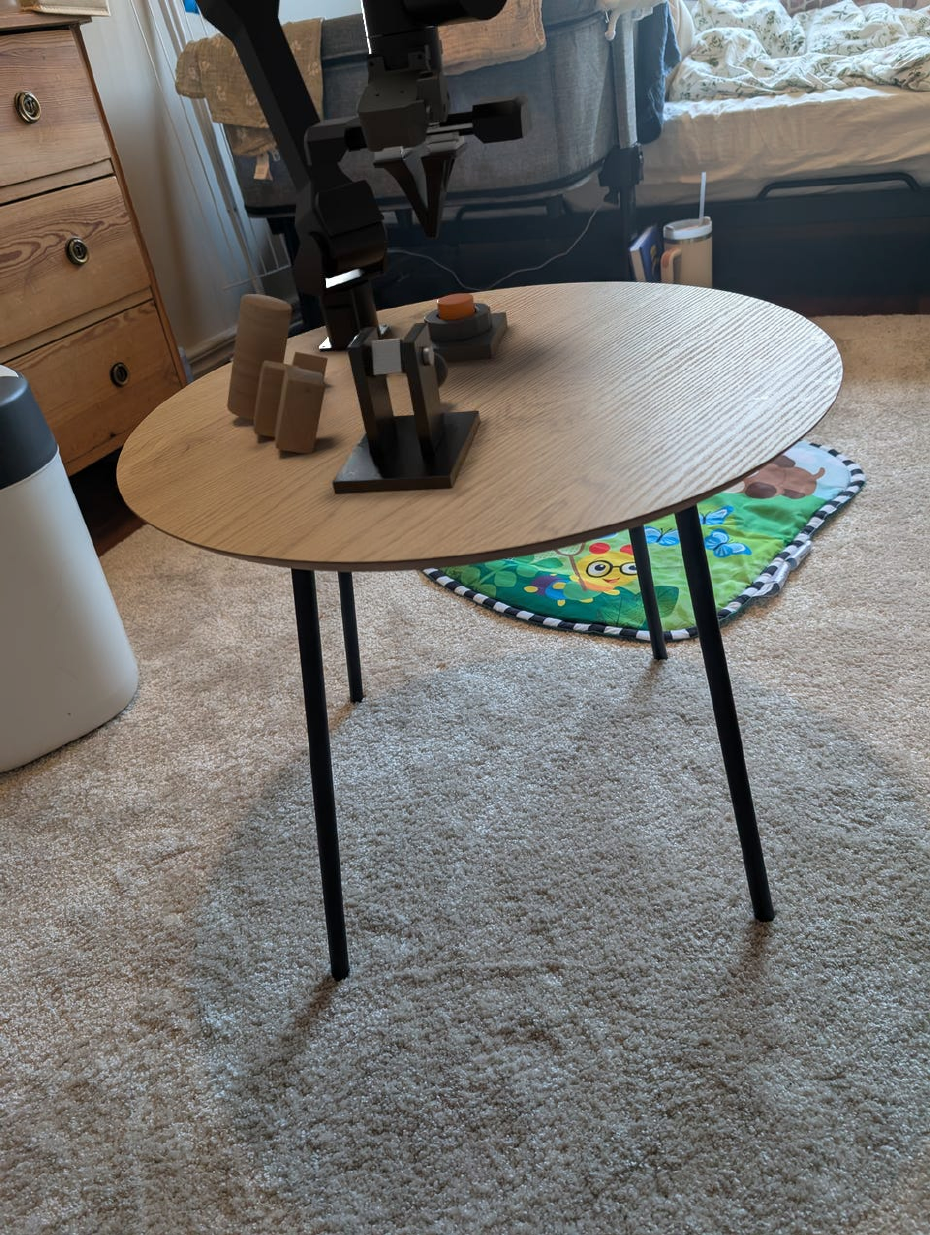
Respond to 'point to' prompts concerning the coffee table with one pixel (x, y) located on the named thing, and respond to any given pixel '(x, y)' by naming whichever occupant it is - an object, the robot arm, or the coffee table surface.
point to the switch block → (467, 334)
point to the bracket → (404, 425)
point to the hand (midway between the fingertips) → (433, 237)
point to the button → (455, 306)
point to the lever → (399, 361)
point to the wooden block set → (275, 377)
